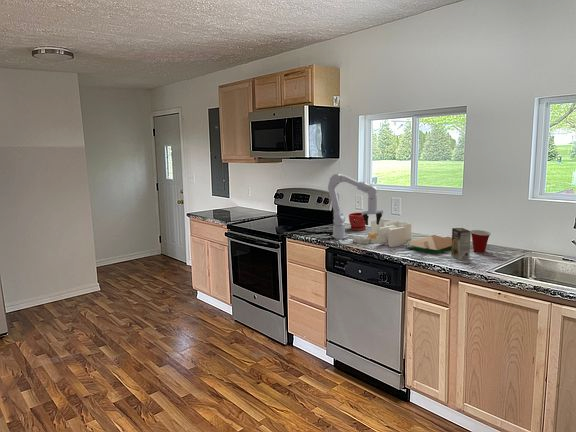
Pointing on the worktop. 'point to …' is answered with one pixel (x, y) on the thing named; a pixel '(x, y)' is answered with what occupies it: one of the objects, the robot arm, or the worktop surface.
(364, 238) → the frame
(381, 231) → the cable organizer
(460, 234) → the coffee box
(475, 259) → the worktop surface
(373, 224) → the white slotted rack
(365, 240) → the clip
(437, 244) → the house
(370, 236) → the orange block
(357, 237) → the clip
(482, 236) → the plastic cup
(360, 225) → the plant pot
